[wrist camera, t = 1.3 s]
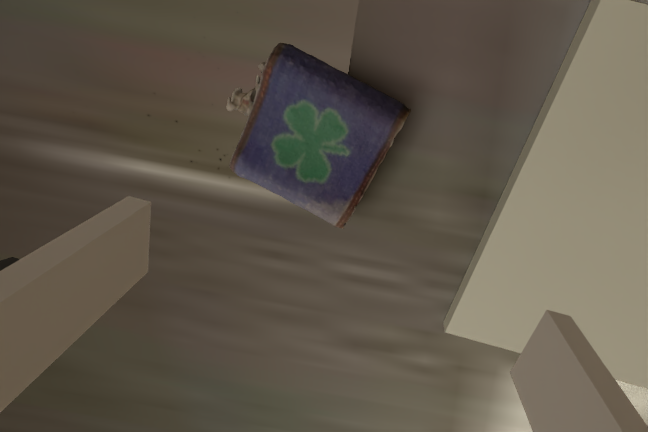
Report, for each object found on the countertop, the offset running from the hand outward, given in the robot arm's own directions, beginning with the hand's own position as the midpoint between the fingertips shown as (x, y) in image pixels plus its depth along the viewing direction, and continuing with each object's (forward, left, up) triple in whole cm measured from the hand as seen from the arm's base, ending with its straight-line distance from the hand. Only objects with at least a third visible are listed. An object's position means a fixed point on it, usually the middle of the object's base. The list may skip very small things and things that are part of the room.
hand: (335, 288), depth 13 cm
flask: (0, +1, -17) cm, 17 cm away
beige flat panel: (0, +20, -16) cm, 26 cm away
